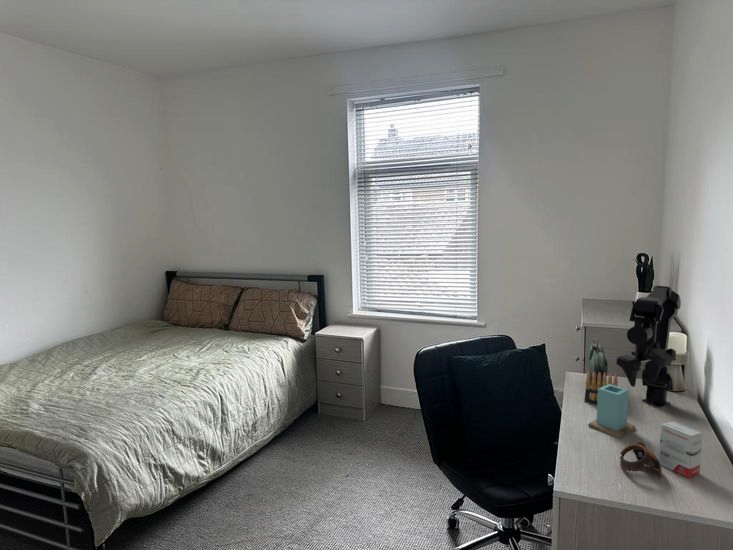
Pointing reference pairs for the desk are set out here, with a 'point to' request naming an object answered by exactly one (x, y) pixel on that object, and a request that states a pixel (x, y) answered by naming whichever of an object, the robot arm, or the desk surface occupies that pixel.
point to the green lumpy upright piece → (597, 360)
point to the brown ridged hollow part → (640, 458)
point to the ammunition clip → (596, 386)
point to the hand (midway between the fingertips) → (642, 384)
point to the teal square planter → (612, 407)
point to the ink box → (680, 449)
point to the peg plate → (610, 431)
